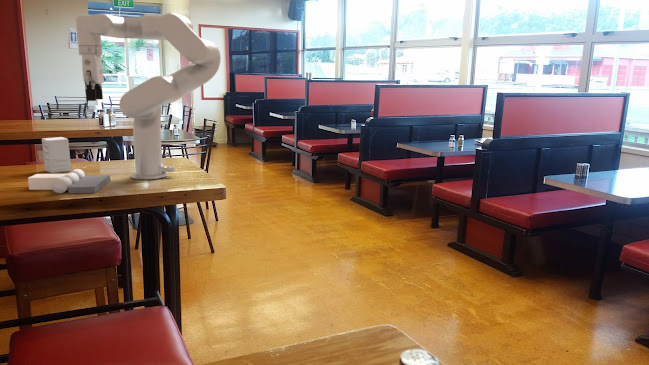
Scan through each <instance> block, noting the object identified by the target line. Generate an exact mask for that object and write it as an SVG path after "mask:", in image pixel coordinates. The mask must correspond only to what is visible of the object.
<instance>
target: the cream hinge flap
mask: <svg viewBox="0 0 649 365" xmlns="http://www.w3.org/2000/svg"><path fill="white" fill-rule="evenodd" d="M61 177H68V178H70V179H71V181H72V184H74V183H75V182H77V181H78V180H79V176H78V175H77V174H75V173H69V172H68V173H36V174H33V175H32V176H31V175H30V176H29V177H27V181H28V190H29V191H30V190H31V191H33V190H34V191H35V190H38V191H39V190H41V191H47V190H52V191H53V189H52V183H53V182H54V181H55V180H57V179H59V178H61Z"/></svg>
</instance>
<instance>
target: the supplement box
mask: <svg viewBox="0 0 649 365" xmlns="http://www.w3.org/2000/svg"><path fill="white" fill-rule="evenodd" d="M41 143H42V144H41V146H42V153H43V162H44V171H46V172H47V173H48V174H59V173H65V172H71V171H72V168H71V167H72V166H71V165H72V164H71V156H70V155H71V154H70V145H69V139H68V138H67V137H63V136H59V137H57V136H55V137H46V138H45V137H43V138H41Z"/></svg>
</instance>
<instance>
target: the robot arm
mask: <svg viewBox="0 0 649 365" xmlns="http://www.w3.org/2000/svg"><path fill="white" fill-rule="evenodd" d="M75 25H76V26H75V27H76V36H77V48H78V55H79V56H81V66H82V67H81V68H82V78H83V82H84V90H85V100H86V101H88V102H90V101H91V102H95V101H97V100H103V99H104V98H103V97H104V96H103V87H102V84H103V83H104V82H105V78H104V70H103V63H102V58H101V57H102V56H103V47H102V37H108V38H109V37H111V38H116V39H137V40H139V39H140V40H141V39H142V40H155V41H156V40H157V41H167V42H168V43H170V45H171V46H172V47H174V49H175V50H176V51H177V52H179V53H180V55H181V56H182V57H183V58H184V59H185V60H187V61H188V62H190V63H189V64H186V65H185V66H183V67H182V68H180V69H178V70H176V71H175V72H173V73H170V74H168V75H167V74H166V75H156V76H153V77H151V78H148V79H147V80H144V81H143V82H142V83H140V84H138V85H137V86H135V87H133V88H131V89H130V90H128V91H126V92H125V93H124V94H122V96H121V98H120V100H119V109H120V111H121V113H122V114H123V115H124V116H126V117H127V118H130V119H133V122H132V124H133V125H132V133H133V134H132V135H133V136H132V137H133V151H134V152H133V153H134V172H132V173H131V174H130V176H131V178H132V179H135V180H157V179H162V178H166V177H167V176H168V173H174V172H175V166H173V165H172V166H171V165H170V166H166V165H165V163H164V162H163V153H162V152H163V150H162V130H161V129H162V128H161V121H162V120H161V118H162V110H163V109H162V108H163V107H162V106H164V105H166V104H173V103H175V102H178V100H180V99H182V98H183V97H185V96H187V95H188V94H190V93H191V92H193V91H195V90H197V89H198V88H200V87H201V86H203V85H205V84H206V83H208V82H209V81H211V80H212V79H213V78H214V77H215V75H216V74H217V72H218V71H219V68H220V65H221V51H220V48H219V47H218V46H217V44H216V43H214V42H213V41H212V40H210V39H209V40H208V39H204V38H202V37H200V36H199V35H198V34H197V33H195V31H194V26H193V23H192V21H191V20H190V19H189V18H188V17H187V16H185V15H182V14H180V13H175V12H166V13H165V14H159V13H158V14H156V13H155V14H154V13H145V14H143V15H142V16H137V17H135V16H134V17H132V16H129V17H127V16H119V15H118V16H117V15H113V14H110V13H97V14H86V13H85V14H78V15H76V17H75Z"/></svg>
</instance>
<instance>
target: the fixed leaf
mask: <svg viewBox="0 0 649 365" xmlns="http://www.w3.org/2000/svg"><path fill="white" fill-rule="evenodd" d="M68 173H75V174H77V175H78V176H79V180H78V181H77V182H75V183H74V184H72V181H71V179H70V178H68V177H61V178H59V179H57V180H55V181H54V182H53V183H52V191H53V192H54V193H56V194H63V193H65V192H66V191H68V194H96V193H97V192H99V191H100V190H101V189H102V188H103V187H105V186H106V185H107V184H108V183H109V182H111V175H109V174H107V175H103V174H101V175H100V174H99V175H85V172H84V170H82V169H80V168H75V169H73V170H71V171H68Z"/></svg>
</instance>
